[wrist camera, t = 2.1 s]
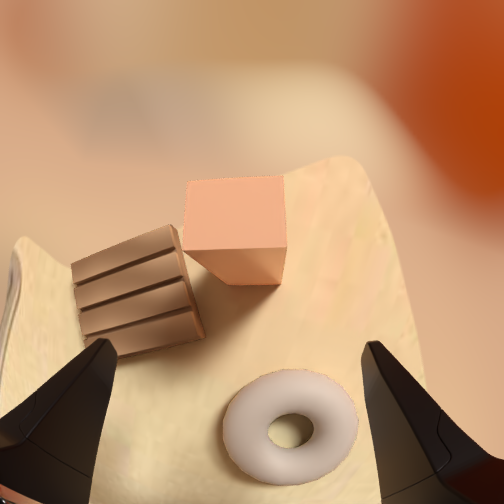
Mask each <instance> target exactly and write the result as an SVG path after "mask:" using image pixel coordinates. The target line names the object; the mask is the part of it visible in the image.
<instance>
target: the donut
mask: <svg viewBox="0 0 504 504" xmlns="http://www.w3.org/2000/svg"><path fill="white" fill-rule="evenodd" d="M291 413H297V414H301V415H304V416H306V417H307V418H309V419H310V420H311V421H312V423H313V427H314V432H313V434H312V436H311V438H310V439H309V440H308V441H307V442H306V443H304V444H303V445H301V446H298V447H295V448H284V447H280V446H278V445H276V444H274V443H273V442H272V441H271V439H270V438H269V436H268V429H269V426H270V424H271V423H272V422H273V421H274V420H275V419H276V418H278V417H280V416H282V415H285V414H291ZM358 422H359V420H358V416H357V412H356V408H355V404H354V401H353V400H352V398H351V397H350V396H349V394H348V393H347V392H346V390H345V389H344V387H343V386H342V385H340V384H339V383H337V382H336V381H334V380H333V379H331V378H330V377H328V376H327V375H324V374H320V373H317V372H313V371H309V370H306V369H282V370H279V371H276V372H272V373H269V374H265V375H262V376H260V377H259V378H257V379H255V380H254V381H252V382H251V383H249V384H247V385H246V386H244V387H243V388H242V389H241V390H240V391H239V393H238V394H237V395H236V396H235V397H234V398H233V400H232V401H231V402H230V403H229V406H228V409H227V411H226V414H225V417H224V419H223V442H224V444H225V447H226V449H227V452H228V454H229V457H230V458H231V459H232V460H233V461H234V462H235V464H236V465H237V466H238V467H239V468H240V469H241V470H242V471H243V472H245V473H246V474H248V475H250V476H251V477H253V478H255V479H257V480H259V481H261V482H265V483H269V484H274V485H278V486H286V485H301V484H304V483H308V482H312V481H315V480H318V479H320V478H321V477H323V476H325V475H327V474H328V473H330V472H332V471H333V470H335V469H336V468H337V467H338V466H339V465H340V463H341V462H342V461H343V460H344V459H345V458H346V457H347V456H348V454H349V452H350V451H351V449H352V447H353V445H354V443H355V440H356V438H357V431H358Z"/></svg>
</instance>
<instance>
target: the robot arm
mask: <svg viewBox="0 0 504 504" xmlns="http://www.w3.org/2000/svg"><path fill="white" fill-rule="evenodd" d="M117 359H118V354H117V351H116V350H115V348H114V346H113V345H112V343H111V341H110V340H109V339H107V338H98V339H96V340H95V341H94V342H93V343H92V344H90V345H89V346H88V347H87V348H86V349H84V350H83V351H82V352H81V353H80V354H78V355H77V356H76V357H75V358H74V359H72V360H71V361H70V362H69V363H68V364H66V365H65V366H64V367H63V368H62V369H61V370H59V371H58V372H57V373H56V374H55V375H53V376H52V377H51V378H50V379H49V380H48V381H47V382H45V383H44V384H43V385H42V386H41V387H40V388H38V389H37V391H35V392H34V393H33V394H31V395H30V396H29V397H28V398H27V399H26V400H24V401H23V402H22V403H21V404H19V405H18V406H17V407H15V408H14V409H13V410H11V411H10V412H9V413H7V414H6V415H4V416H3V417H2V418H0V504H89V497H90V490H91V484H92V477H93V471H94V466H95V460H96V455H97V450H98V446H99V441H100V437H101V432H102V428H103V424H104V419H105V415H106V411H107V408H108V404H109V400H110V396H111V392H112V387H113V381H114V375H115V370H116V364H117ZM361 366H362V375H363V385H364V396H365V403H366V409H367V413H368V418H369V424H370V429H371V434H372V440H373V445H374V451H375V458H376V464H377V471H378V478H379V485H380V493H381V503H382V504H504V460H503V459H499V458H496V457H494V456H492V455H490V454H488V453H487V452H486V451H485V450H483V449H482V448H481V447H480V446H479V445H478V444H477V443H476V442H474V440H472V439H471V438H470V437H469V436H468V435H467V434H466V433H465V432H464V431H463V430H461V428H459V427H458V426H457V425H456V424H455V422H453V420H452V419H451V418H450V417H449V416H448V415H447V414H446V413H445V412H444V410H442V409H441V407H440V406H439V405H438V404H437V403H436V402H435V401H434V400H433V398H432V397H431V396H430V395H429V394H428V393H427V392H426V391H425V389H424V388H423V387H422V386H421V385H420V384H419V383H418V382H417V381H416V380H415V379H414V377H413V376H412V375H411V374H410V373H409V372H408V371H407V370H406V369H405V368H404V367H403V366H402V365H401V363H400V362H399V361H398V360H397V359H396V358H395V357H394V356H393V355H392V354H391V353H390V352H389V351H388V350H387V349H386V348H385V346H384V345H383V344H382V343H381V342H380V341H377V340H376V341H368V342H367V343H366V345H365V348H364V351H363V353H362V356H361Z"/></svg>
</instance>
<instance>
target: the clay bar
mask: <svg viewBox="0 0 504 504" xmlns="http://www.w3.org/2000/svg"><path fill="white" fill-rule="evenodd" d="M182 251H184V252H185V253H186V254H187V255H189V256H190V257H191V258H193V259H194V260H195V261H197V262H198V263H199V264H201V265H202V266H203V267H204V268H206V269H207V270H208V271H210V272H211V273H212V274H214V275H215V276H216V277H218V278H219V279H220V280H222V281H223V282H224V283H226V284H227V285H275V284H281V282H282V276H283V270H284V264H285V258H286V251H287V233H286V213H285V196H284V180H283V176H262V177H239V178H225V179H224V178H223V179H210V180H198V181H188V182H187V191H186V202H185V215H184V229H183V247H182Z"/></svg>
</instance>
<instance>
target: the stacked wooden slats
mask: <svg viewBox="0 0 504 504" xmlns="http://www.w3.org/2000/svg"><path fill="white" fill-rule="evenodd" d="M71 269H72V277H73V284H77V285H78V287H77V288H74V292H75V298H76V304H77V309H81V310H82V313H81V314H78V316H79V321H80V326H81V331H82V335H87V339H88V340H84V344H85V348H87V347H88V346H89V345H90V344H92V343H93V342H94V341H95V340H96V339H98V338H107V339H109V340H110V341H111V343H112V345H113V346H114V348H115V350H116V351H117V354H118V359H120V358H125V357H129V356H134V355H138V354H143V353H147V352H151V351H156V350H160V349H164V348H168V347H172V346H176V345H180V344H183V343H187V342H191V341H195V340H198V339H202V338H206V336H205V333H204V329H203V326H202V323H201V319H200V316H199V313H198V309H197V306H196V302H195V299H194V295H193V291H192V288H191V284H190V280H189V276H188V273H187V269H186V265H185V261H184V257H183V253H182V249H181V245H180V241H179V236H178V232H177V230H176V229H175V228H174V227H173V226H172V225H166V226H163V227H161V228H158V229H156V230H153V231H150V232H148V233H145V234H142V235H140V236H137V237H135V238H132V239H130V240H127V241H125V242H122V243H119V244H117V245H115V246H112V247H110V248H107V249H105V250H102V251H100V252H98V253H95V254H93V255H90V256H88V257H86V258H83V259H81V260H79V261H76V262H74V263H72V264H71Z"/></svg>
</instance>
